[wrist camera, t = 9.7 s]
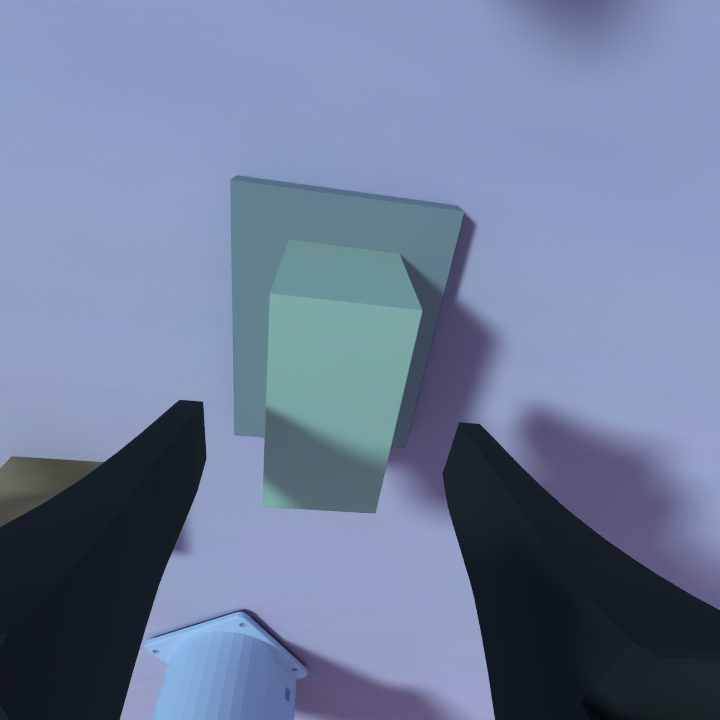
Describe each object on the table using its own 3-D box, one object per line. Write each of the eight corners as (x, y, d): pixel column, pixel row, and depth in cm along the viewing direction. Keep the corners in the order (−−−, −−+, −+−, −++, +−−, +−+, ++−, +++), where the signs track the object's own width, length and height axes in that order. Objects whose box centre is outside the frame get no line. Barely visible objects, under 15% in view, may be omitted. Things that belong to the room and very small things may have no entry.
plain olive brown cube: (110, 461, 22) (62, 537, 18) (123, 519, 24) (83, 597, 20) (12, 455, 21) (-59, 531, 17) (35, 515, 23) (-24, 594, 20)
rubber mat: (236, 175, 15) (230, 179, 14) (457, 205, 16) (464, 211, 15) (238, 421, 21) (234, 435, 20) (402, 433, 21) (405, 447, 21)
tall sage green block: (289, 239, 15) (269, 293, 11) (399, 253, 16) (422, 310, 11) (279, 416, 19) (262, 506, 15) (367, 424, 20) (375, 513, 15)
